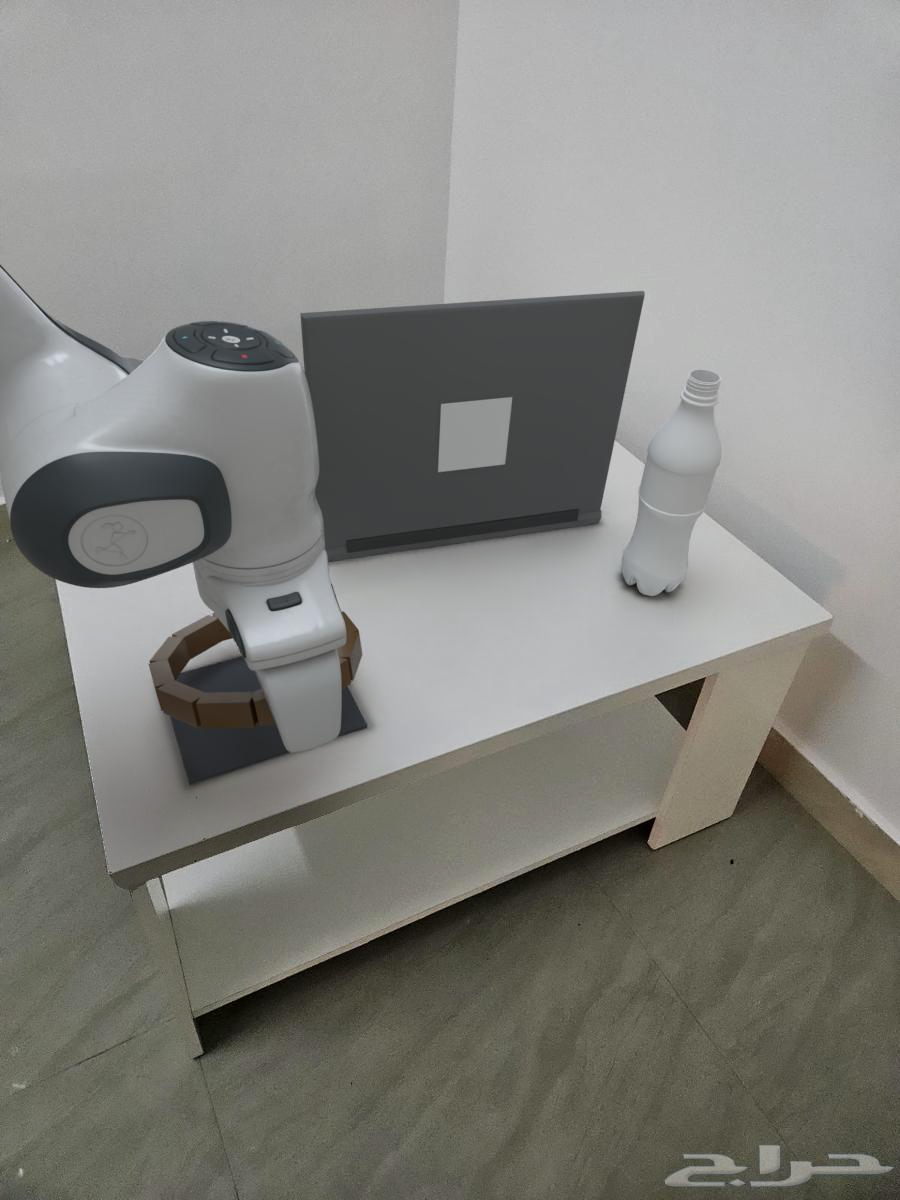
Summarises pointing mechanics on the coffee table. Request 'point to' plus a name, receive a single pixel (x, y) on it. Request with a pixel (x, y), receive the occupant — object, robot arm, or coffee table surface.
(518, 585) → the coffee table surface
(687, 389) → the water bottle
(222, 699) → the hoop
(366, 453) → the laptop
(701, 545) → the coffee table surface
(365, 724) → the mat
